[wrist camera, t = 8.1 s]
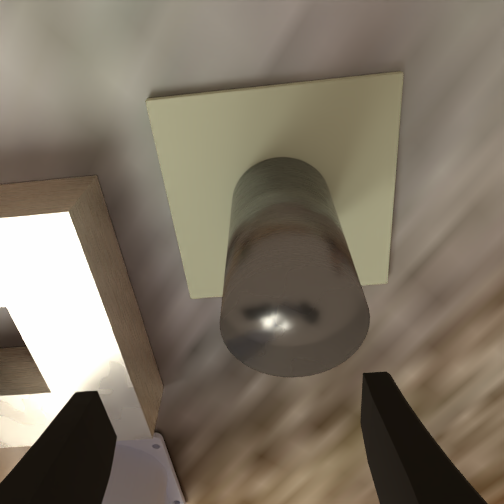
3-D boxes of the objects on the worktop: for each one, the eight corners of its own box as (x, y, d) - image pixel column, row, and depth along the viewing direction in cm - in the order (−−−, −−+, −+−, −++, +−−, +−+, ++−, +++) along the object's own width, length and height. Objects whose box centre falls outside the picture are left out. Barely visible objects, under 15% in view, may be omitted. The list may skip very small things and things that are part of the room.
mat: (385, 278, 22) (387, 283, 22) (191, 294, 23) (190, 298, 23) (400, 71, 17) (403, 73, 17) (147, 98, 18) (145, 101, 17)
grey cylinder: (328, 243, 21) (362, 375, 14) (235, 247, 21) (226, 378, 14) (332, 154, 18) (377, 262, 12) (228, 159, 19) (213, 267, 12)
